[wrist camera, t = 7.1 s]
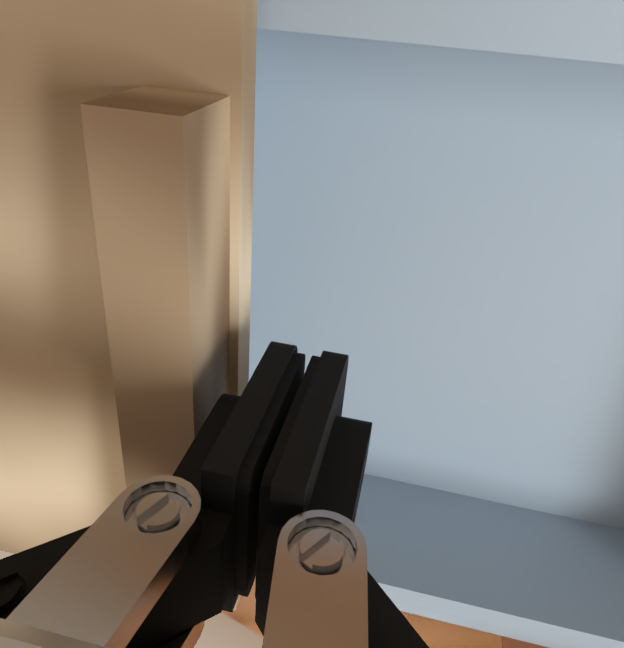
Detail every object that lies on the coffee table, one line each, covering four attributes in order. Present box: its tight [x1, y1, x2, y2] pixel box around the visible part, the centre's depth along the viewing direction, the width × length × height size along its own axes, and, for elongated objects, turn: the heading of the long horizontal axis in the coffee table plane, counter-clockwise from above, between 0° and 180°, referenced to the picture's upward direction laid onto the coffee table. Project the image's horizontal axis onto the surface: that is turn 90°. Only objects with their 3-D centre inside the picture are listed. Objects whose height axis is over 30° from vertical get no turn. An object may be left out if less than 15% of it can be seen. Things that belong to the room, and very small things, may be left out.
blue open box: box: [249, 0, 624, 648], centre depth 15 cm, size 16×20×5 cm
